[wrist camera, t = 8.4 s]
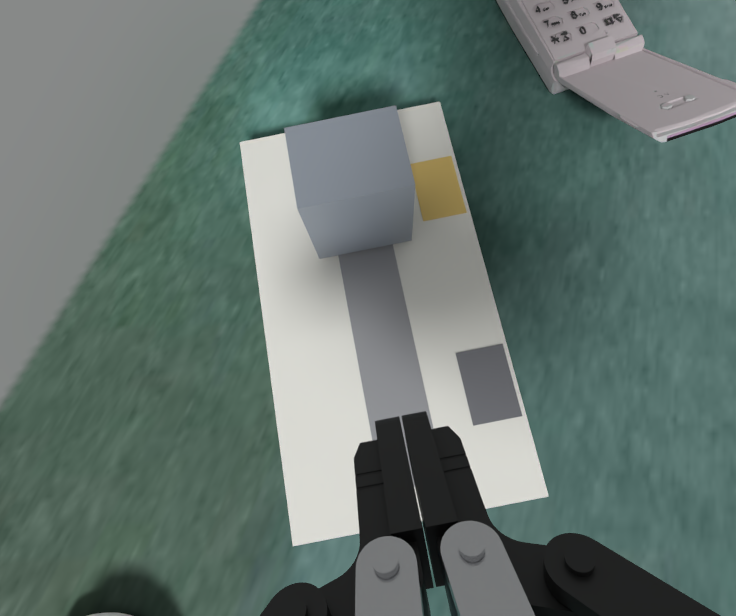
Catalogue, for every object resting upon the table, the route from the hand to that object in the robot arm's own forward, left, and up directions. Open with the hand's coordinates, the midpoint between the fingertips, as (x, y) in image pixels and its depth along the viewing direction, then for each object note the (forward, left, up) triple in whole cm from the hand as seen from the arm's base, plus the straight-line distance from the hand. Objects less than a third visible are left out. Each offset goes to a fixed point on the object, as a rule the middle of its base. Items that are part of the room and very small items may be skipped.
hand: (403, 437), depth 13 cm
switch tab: (0, -12, -9) cm, 15 cm away
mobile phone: (-15, -24, -12) cm, 30 cm away
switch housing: (0, -7, -11) cm, 14 cm away
